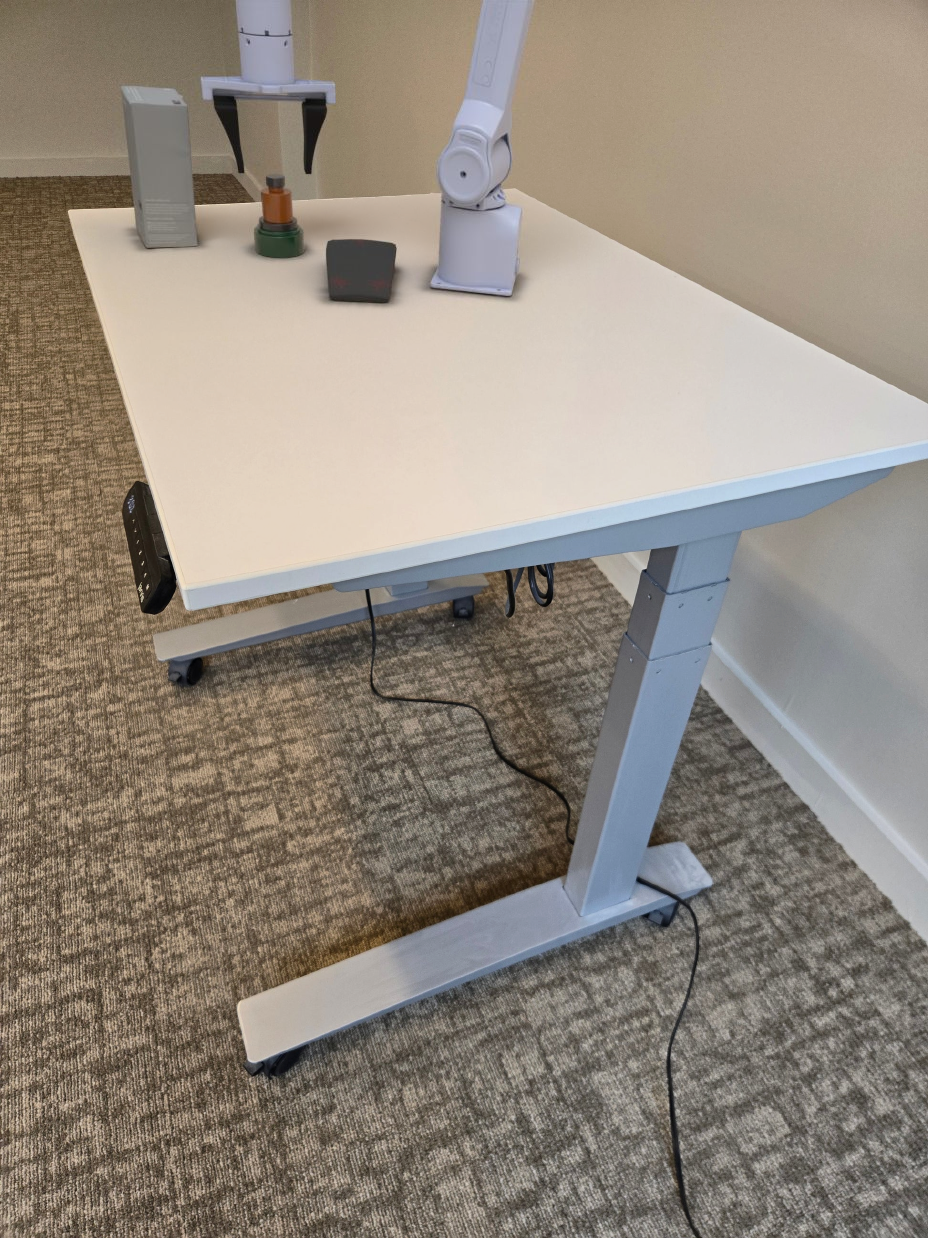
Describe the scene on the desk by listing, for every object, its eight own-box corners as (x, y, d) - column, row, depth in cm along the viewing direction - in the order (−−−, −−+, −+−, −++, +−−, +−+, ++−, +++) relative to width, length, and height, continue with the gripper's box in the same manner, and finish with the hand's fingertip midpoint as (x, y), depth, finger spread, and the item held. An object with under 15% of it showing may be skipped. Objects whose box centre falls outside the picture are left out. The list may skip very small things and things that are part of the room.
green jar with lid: (310, 245, 110) (308, 215, 107) (297, 260, 105) (295, 228, 103) (263, 240, 110) (261, 210, 108) (248, 254, 105) (245, 223, 103)
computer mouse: (396, 264, 106) (396, 229, 104) (396, 304, 96) (396, 266, 93) (329, 260, 106) (328, 225, 103) (322, 300, 95) (320, 263, 93)
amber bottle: (298, 217, 106) (295, 174, 103) (285, 225, 103) (282, 181, 100) (271, 213, 107) (268, 170, 104) (257, 220, 104) (254, 176, 101)
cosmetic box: (135, 229, 110) (111, 84, 100) (193, 226, 112) (175, 84, 102) (145, 250, 104) (120, 98, 94) (205, 246, 107) (188, 98, 96)
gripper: (195, 34, 89) (211, 179, 97) (337, 40, 92) (340, 180, 100) (195, 25, 94) (210, 164, 102) (329, 32, 97) (333, 166, 106)
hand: (274, 171), depth 102 cm, fingers open, 7 cm apart
